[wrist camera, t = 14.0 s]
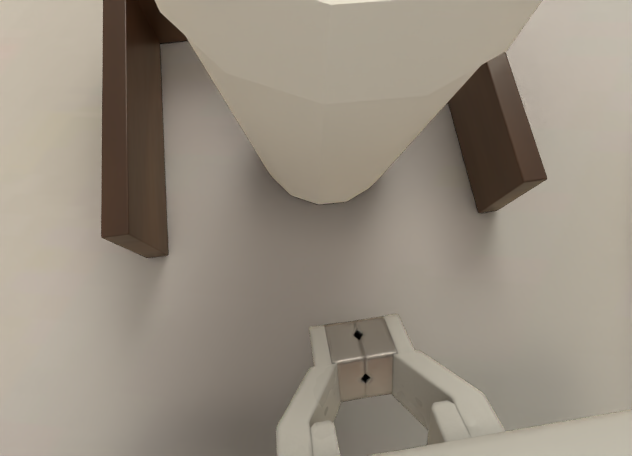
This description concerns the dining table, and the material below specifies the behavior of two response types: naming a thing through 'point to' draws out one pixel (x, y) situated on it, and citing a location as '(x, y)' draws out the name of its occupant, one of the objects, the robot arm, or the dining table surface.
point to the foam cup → (341, 76)
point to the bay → (148, 142)
